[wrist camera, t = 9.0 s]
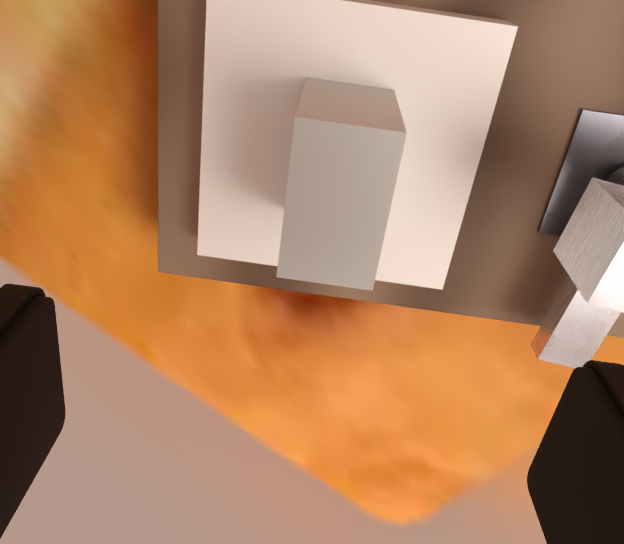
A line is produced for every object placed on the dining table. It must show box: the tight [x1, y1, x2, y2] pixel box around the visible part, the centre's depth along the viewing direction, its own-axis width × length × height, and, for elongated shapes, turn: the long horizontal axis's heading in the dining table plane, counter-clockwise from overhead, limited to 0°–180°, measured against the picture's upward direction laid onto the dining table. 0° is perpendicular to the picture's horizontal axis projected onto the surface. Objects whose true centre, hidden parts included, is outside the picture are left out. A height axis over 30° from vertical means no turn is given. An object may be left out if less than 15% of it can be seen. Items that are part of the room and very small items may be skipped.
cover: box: [197, 0, 518, 291], centre depth 20 cm, size 10×10×6 cm
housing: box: [158, 0, 624, 337], centre depth 24 cm, size 24×14×4 cm, turn 83°
